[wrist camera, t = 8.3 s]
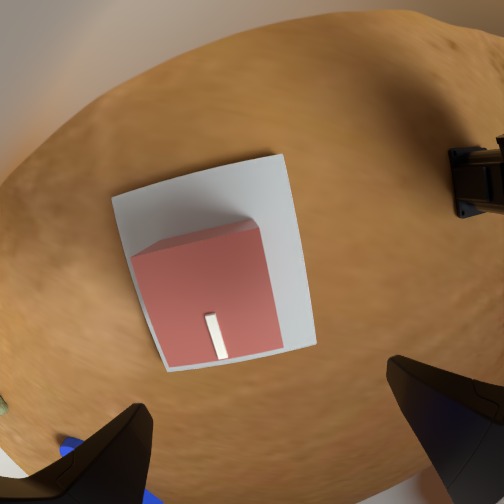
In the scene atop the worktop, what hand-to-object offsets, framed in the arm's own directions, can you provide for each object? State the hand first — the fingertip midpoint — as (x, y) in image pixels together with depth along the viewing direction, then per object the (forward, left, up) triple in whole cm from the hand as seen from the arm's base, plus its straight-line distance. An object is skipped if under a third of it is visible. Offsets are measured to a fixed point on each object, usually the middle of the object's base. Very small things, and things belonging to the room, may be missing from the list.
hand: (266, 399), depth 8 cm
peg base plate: (+2, -2, -12) cm, 12 cm away
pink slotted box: (+2, -2, -11) cm, 11 cm away
